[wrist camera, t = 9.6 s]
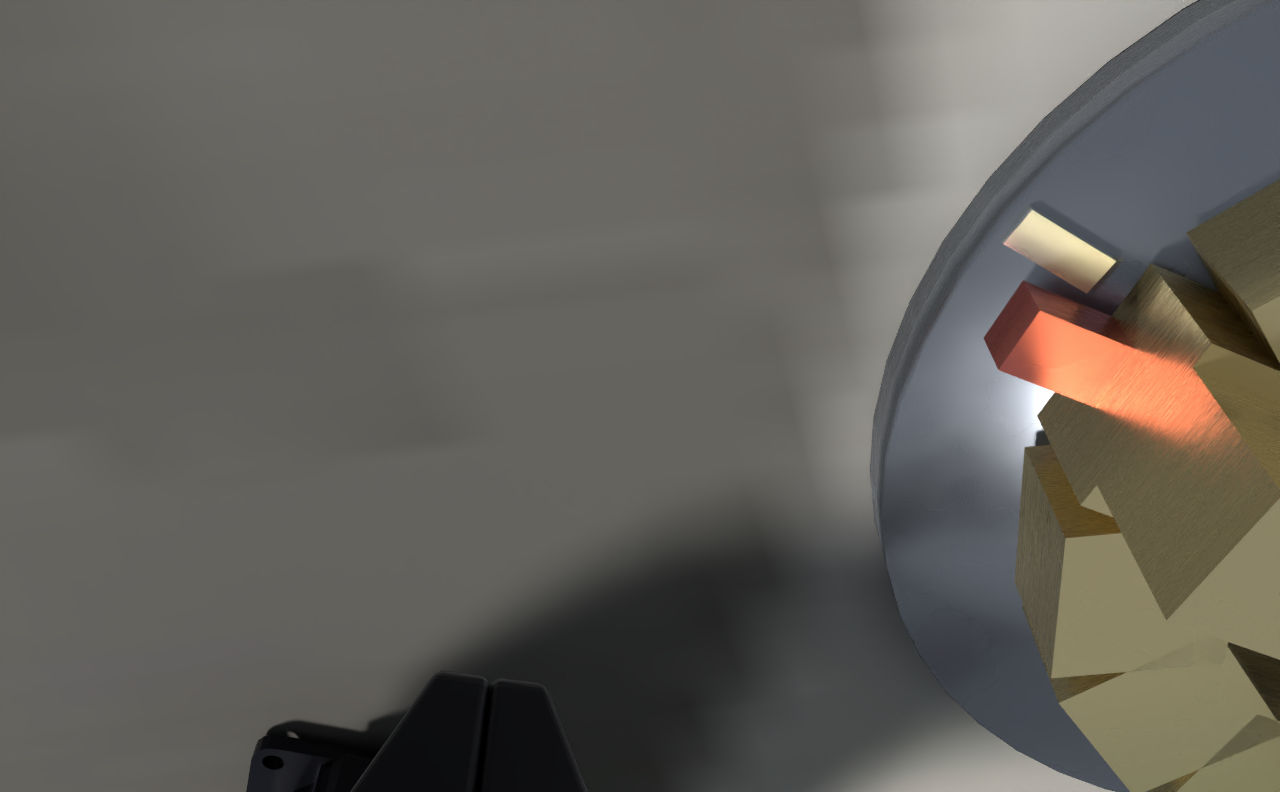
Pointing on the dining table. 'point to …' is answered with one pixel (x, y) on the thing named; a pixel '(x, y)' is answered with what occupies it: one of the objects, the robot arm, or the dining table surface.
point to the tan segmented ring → (1160, 510)
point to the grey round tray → (1081, 271)
